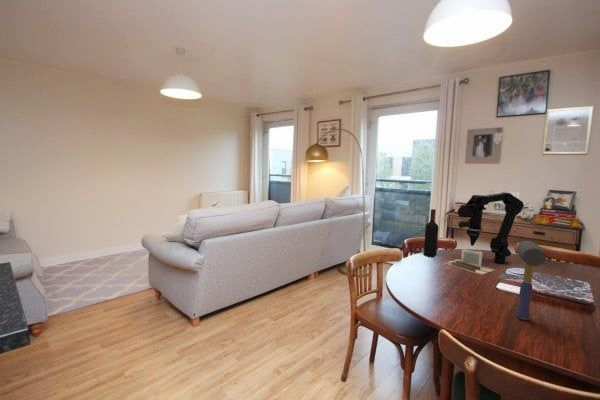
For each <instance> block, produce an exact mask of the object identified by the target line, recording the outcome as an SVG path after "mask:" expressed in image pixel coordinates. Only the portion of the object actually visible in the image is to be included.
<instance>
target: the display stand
mask: <svg viewBox="0 0 600 400" xmlns="http://www.w3.org/2000/svg"><path fill="white" fill-rule="evenodd" d="M444 264H446V265H449V266H452V267H455V268H458V269H462V270H465V271H468V272H472V273H474V274H478V275H480V276H482V275H484V274H487V273H490V272H493V271H495V270H496V269H495V268H491V267H487V266H484V265H481V267H479V266H474V265H471V264H468V263H464V262H461V258H455V259H452V260H448V261H444Z"/></svg>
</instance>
